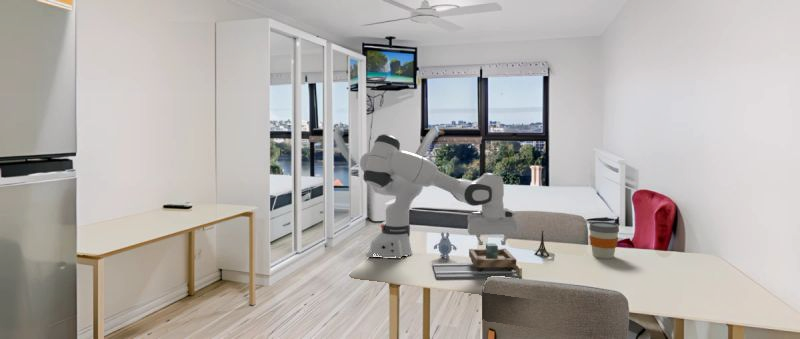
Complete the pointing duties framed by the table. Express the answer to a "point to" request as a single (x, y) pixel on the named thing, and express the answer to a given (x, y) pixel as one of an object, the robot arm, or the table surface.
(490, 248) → the slate block
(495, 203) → the robot arm
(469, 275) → the track
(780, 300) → the table surface
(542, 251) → the eiffel tower figurine
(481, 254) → the shallow wooden tray
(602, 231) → the reusable coffee cup
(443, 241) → the toy figure
